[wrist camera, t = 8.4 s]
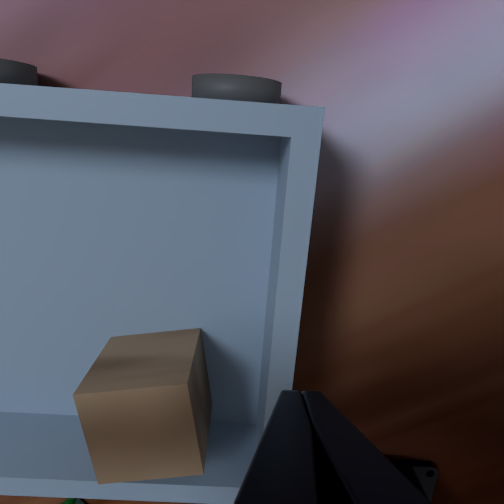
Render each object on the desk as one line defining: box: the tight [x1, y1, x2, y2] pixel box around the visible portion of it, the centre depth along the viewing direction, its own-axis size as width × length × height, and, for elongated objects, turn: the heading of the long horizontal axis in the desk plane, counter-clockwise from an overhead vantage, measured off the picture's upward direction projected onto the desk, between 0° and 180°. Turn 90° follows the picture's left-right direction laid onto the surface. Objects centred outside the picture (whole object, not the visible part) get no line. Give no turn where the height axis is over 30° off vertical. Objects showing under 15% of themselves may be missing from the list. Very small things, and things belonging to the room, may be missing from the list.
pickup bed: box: [0, 59, 325, 504], centre depth 18 cm, size 19×16×6 cm
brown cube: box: [73, 328, 213, 484], centre depth 18 cm, size 4×4×4 cm
